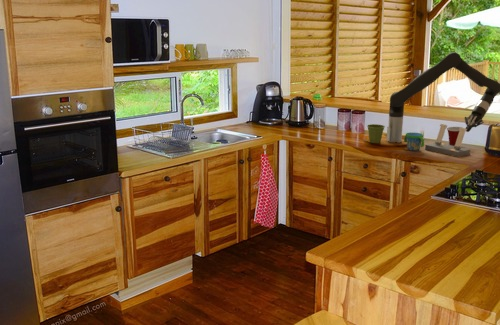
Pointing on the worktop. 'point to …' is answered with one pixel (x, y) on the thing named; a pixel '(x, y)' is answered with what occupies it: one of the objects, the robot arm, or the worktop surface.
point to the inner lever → (441, 134)
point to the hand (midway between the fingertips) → (466, 130)
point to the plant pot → (375, 132)
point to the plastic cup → (453, 134)
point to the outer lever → (460, 138)
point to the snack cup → (414, 141)
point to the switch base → (447, 149)
